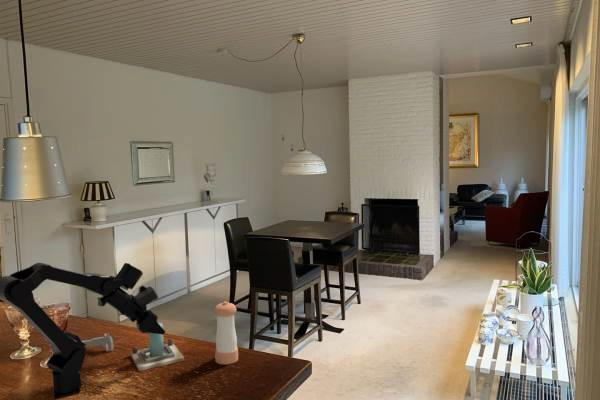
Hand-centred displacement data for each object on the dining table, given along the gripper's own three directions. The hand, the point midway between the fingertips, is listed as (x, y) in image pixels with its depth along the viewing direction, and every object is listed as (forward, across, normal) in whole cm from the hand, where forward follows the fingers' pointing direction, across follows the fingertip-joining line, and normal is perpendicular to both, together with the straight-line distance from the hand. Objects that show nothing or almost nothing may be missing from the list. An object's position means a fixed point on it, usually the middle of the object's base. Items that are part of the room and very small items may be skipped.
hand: (160, 328), depth 152 cm
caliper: (-7, +21, +21) cm, 30 cm away
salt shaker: (+19, -14, -5) cm, 24 cm away
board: (+6, 0, +8) cm, 10 cm away
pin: (+5, 0, +7) cm, 9 cm away
